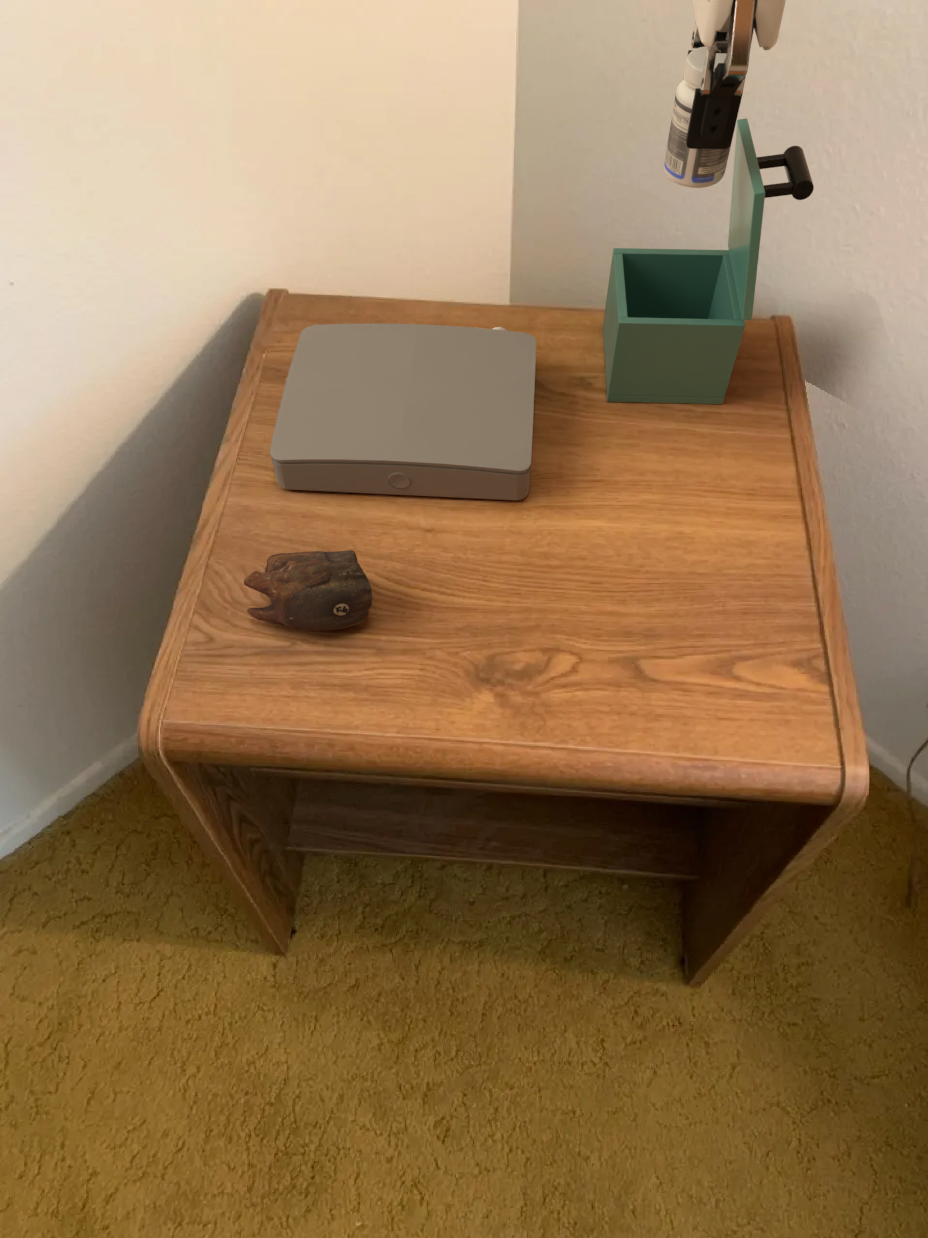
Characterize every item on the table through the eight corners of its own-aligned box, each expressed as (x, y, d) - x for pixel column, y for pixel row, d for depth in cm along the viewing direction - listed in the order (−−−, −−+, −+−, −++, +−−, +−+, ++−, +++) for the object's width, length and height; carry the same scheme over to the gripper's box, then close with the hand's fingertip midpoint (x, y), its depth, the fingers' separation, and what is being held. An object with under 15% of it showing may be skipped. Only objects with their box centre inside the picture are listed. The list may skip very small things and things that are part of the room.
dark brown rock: (225, 587, 67) (359, 567, 66) (246, 548, 73) (370, 529, 71) (249, 656, 70) (378, 638, 69) (268, 614, 76) (387, 596, 74)
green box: (606, 401, 85) (618, 322, 78) (602, 327, 91) (613, 247, 84) (722, 404, 85) (745, 325, 77) (710, 329, 91) (731, 249, 83)
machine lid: (754, 193, 68) (824, 184, 67) (737, 118, 74) (800, 110, 73) (742, 321, 77) (803, 314, 76) (727, 245, 83) (784, 239, 82)
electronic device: (312, 346, 90) (304, 302, 86) (535, 354, 89) (537, 311, 85) (275, 492, 79) (264, 450, 75) (528, 504, 78) (531, 462, 74)
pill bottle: (728, 162, 73) (755, 47, 66) (718, 194, 70) (744, 78, 63) (669, 152, 74) (689, 38, 67) (656, 183, 71) (676, 68, 64)
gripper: (859, -133, 49) (770, 191, 64) (807, -230, 59) (740, 71, 74) (717, -134, 49) (661, 189, 64) (688, -230, 59) (645, 70, 74)
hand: (704, 124), depth 69 cm, fingers closed on pill bottle, 4 cm apart
